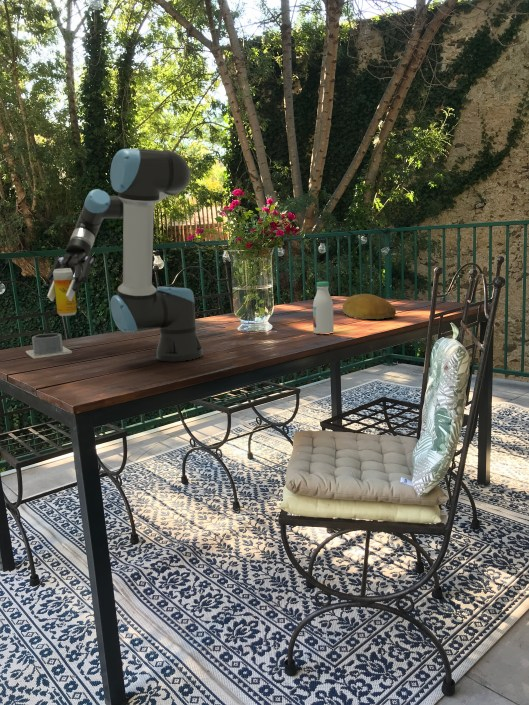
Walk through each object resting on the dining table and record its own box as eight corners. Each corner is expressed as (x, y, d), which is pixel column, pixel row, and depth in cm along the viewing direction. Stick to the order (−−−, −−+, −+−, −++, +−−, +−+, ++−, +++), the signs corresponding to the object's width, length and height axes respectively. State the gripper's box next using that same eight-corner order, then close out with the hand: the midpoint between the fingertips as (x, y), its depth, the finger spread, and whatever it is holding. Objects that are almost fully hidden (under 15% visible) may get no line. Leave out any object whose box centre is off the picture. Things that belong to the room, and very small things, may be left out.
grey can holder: (71, 353, 206) (70, 335, 204) (33, 358, 199) (31, 340, 197) (62, 348, 216) (60, 331, 215) (26, 352, 210) (23, 335, 208)
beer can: (71, 316, 188) (66, 269, 185) (54, 316, 189) (48, 270, 186) (80, 313, 194) (75, 268, 191) (64, 313, 195) (59, 268, 192)
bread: (365, 310, 285) (365, 290, 283) (404, 319, 252) (404, 296, 250) (331, 313, 279) (331, 292, 277) (366, 323, 247) (366, 299, 245)
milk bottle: (336, 332, 225) (336, 281, 221) (328, 335, 219) (327, 282, 215) (319, 331, 229) (318, 280, 225) (310, 334, 223) (308, 282, 219)
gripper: (110, 251, 200) (91, 305, 188) (60, 253, 204) (39, 305, 192) (101, 236, 194) (81, 290, 182) (50, 238, 198) (27, 291, 186)
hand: (59, 298), depth 187 cm, fingers closed on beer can, 6 cm apart
